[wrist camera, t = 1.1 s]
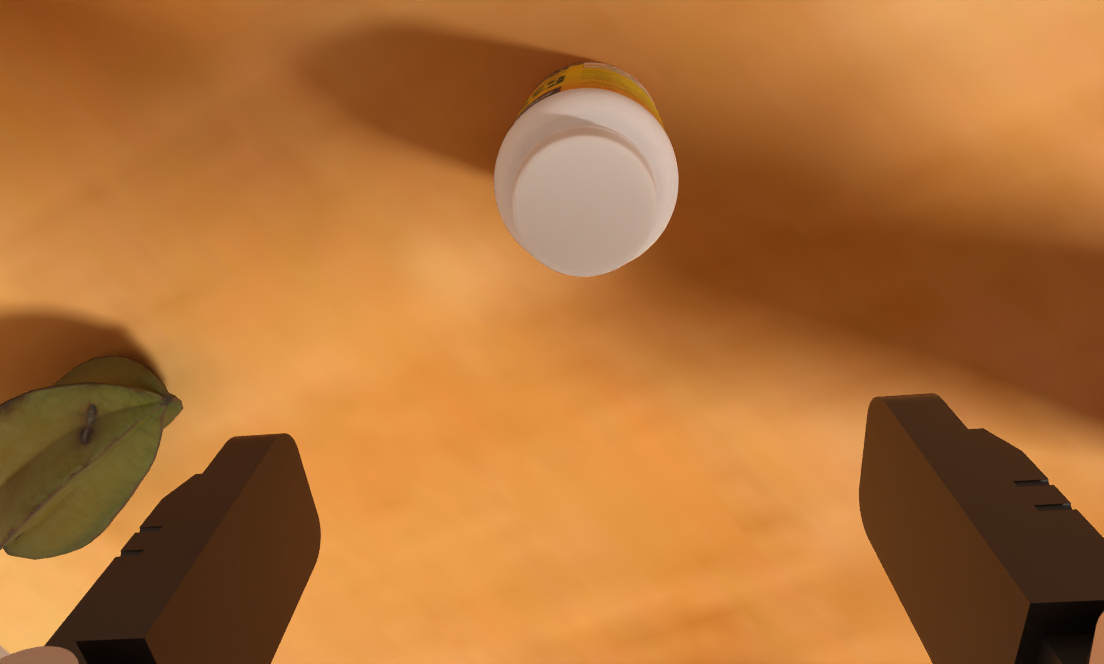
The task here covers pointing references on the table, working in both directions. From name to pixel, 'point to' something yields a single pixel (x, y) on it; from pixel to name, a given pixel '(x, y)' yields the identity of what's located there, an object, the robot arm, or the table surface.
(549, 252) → the supplement bottle
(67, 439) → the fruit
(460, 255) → the table surface
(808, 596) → the table surface
